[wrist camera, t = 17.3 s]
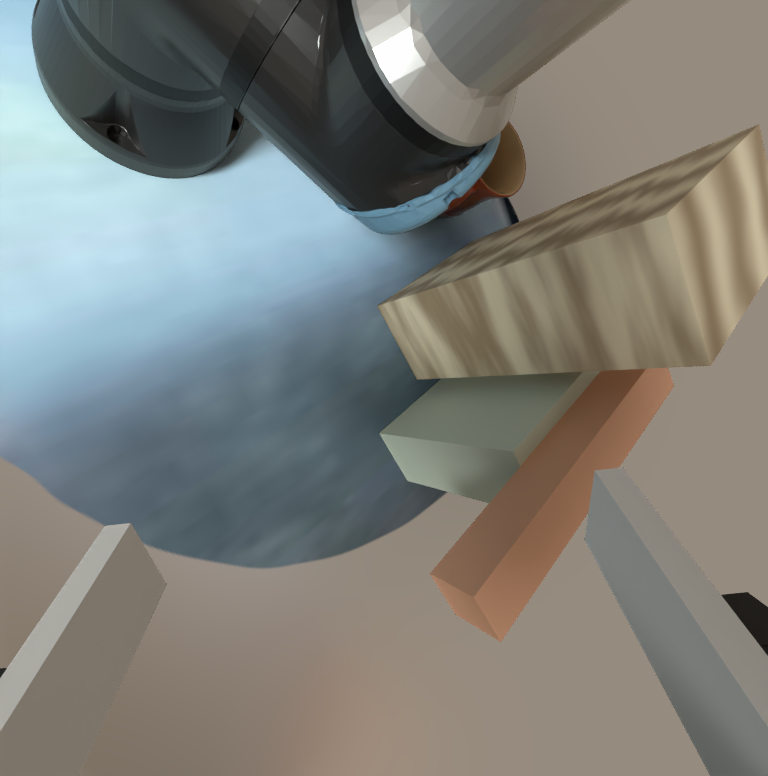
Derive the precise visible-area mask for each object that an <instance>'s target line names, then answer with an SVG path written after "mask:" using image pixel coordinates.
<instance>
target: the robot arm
mask: <svg viewBox="0 0 768 776" xmlns="http://www.w3.org/2000/svg"><path fill="white" fill-rule="evenodd" d="M629 1H631V0H37V2H36V5H35V8H34V13H33V18H32V43H33V49H34V55H35V60H36V65H37V70H38V73H39V77H40V79H41V82H42V85H43V87H44V89H45V91H46V93H47V95H48V97H49V99H50V101H51V102H52V104H53V106H54V107H55V109H56V110H57V111H58V113H59V114H60V116H61V117H62V118H63V119H64V121H65V122H66V123H67V124H68V125H69V126H70V127H71V129H72V130H73V131H74V132H75V133H76V134H77V135H78V136H80V137H81V138H82V139H83V140H84V141H85V142H86V143H88V144H89V145H90V146H91V147H93V148H94V149H95V150H97V151H98V152H100V153H101V154H103V155H104V156H106V157H107V158H109V159H111V160H113V161H114V162H116V163H118V164H120V165H122V166H125V167H127V168H129V169H132V170H135V171H137V172H141V173H144V174H148V175H152V176H158V177H166V178H183V177H190V176H195V175H198V174H201V173H204V172H206V171H208V170H210V169H212V168H213V167H215V166H216V165H218V164H219V163H220V162H221V161H222V160H223V159H224V158H225V157H226V156H227V155H228V153H229V152H230V151H231V149H232V147H233V145H234V143H235V142H236V140H237V138H238V136H239V134H240V131H241V129H242V125H243V121H244V117H245V118H246V119H247V120H248V121H249V122H250V123H251V124H252V125H253V126H255V127H256V128H257V129H258V130H259V131H260V132H261V133H262V134H263V135H264V136H265V137H266V138H267V139H268V140H269V141H271V142H272V143H273V144H274V145H275V146H276V147H277V148H278V149H279V150H280V151H281V152H282V153H283V154H284V155H285V156H287V157H288V158H289V159H290V160H291V161H292V162H293V163H294V164H295V165H296V166H297V167H298V168H299V169H300V170H301V171H303V172H304V173H305V174H306V175H307V176H308V177H309V178H310V179H311V180H312V181H313V182H314V183H315V184H316V185H317V186H318V187H320V188H321V189H322V190H323V191H324V192H325V193H326V194H327V195H328V196H329V197H330V198H331V199H332V200H333V201H334V202H335V203H336V205H337V206H338V207H339V208H340V209H342V210H343V211H345V212H347V213H349V214H351V215H353V216H354V217H356V218H357V219H358V220H359V221H360V222H362V223H363V224H364V225H365V226H367V227H368V228H369V229H371V230H373V231H375V232H377V233H381V234H399V233H403V232H407V231H410V230H413V229H415V228H418V227H420V226H422V225H424V224H426V223H427V222H429V221H431V220H433V219H434V218H436V217H437V216H439V215H440V214H441V213H443V212H444V211H445V210H447V209H448V207H449V204H450V202H451V201H452V200H453V199H455V198H457V197H462V196H463V195H464V194H465V193H466V192H467V191H468V190H469V189H470V188H471V187H472V186H473V185H474V184H475V183H476V182H477V181H478V179H479V178H480V177H481V176H482V174H483V173H484V172H485V170H486V169H487V167H488V166H489V164H490V163H491V161H492V159H493V157H494V155H495V153H496V151H497V148H498V145H499V142H500V135H501V131H502V130H503V129H504V127H505V126H506V124H507V122H508V121H509V119H510V116H511V113H512V111H513V107H514V103H515V99H516V93H517V87H518V85H519V84H520V83H521V82H523V81H524V80H525V79H527V78H528V77H529V76H531V75H532V74H533V73H535V72H536V71H537V70H539V69H540V68H541V67H543V66H544V65H545V64H547V63H548V62H549V61H551V60H552V59H553V58H555V57H556V56H557V55H559V54H560V53H561V52H563V51H564V50H565V49H567V48H568V47H569V46H571V45H572V44H573V43H575V42H576V41H577V40H579V39H580V38H581V37H583V36H584V35H585V34H587V33H588V32H589V31H591V30H592V29H593V28H595V27H596V26H597V25H599V24H600V23H601V22H603V21H604V20H605V19H607V18H608V17H609V16H611V15H612V14H613V13H614V12H616V11H617V10H619V9H620V8H621V7H622V6H624V5H625V4H627V3H628V2H629ZM584 540H585V542H586V544H587V545H588V547H589V549H590V551H591V553H592V555H593V556H594V559H595V560H596V562H597V564H598V566H599V568H600V570H601V572H602V573H603V575H604V577H605V579H606V581H607V583H608V585H609V587H610V588H611V590H612V592H613V594H614V596H615V598H616V600H617V602H618V603H619V605H620V607H621V609H622V611H623V613H624V615H625V617H626V619H627V621H628V622H629V624H630V626H631V628H632V630H633V632H634V634H635V635H636V637H637V639H638V641H639V643H640V645H641V647H642V649H643V651H644V652H645V654H646V656H647V658H648V660H649V662H650V664H651V666H652V668H653V669H654V671H655V673H656V675H657V677H658V679H659V681H660V683H661V684H662V686H663V688H664V690H665V692H666V694H667V696H668V697H669V699H670V701H671V703H672V705H673V707H674V709H675V710H676V712H677V714H678V716H679V718H680V720H681V722H682V724H683V726H684V728H685V729H686V731H687V733H688V735H689V737H690V739H691V741H692V743H693V744H694V746H695V748H696V750H697V752H698V754H699V756H700V757H701V759H702V761H703V763H704V765H705V767H706V769H707V771H708V773H709V775H710V776H768V607H767V606H765V605H764V604H763V603H761V602H760V601H759V600H757V599H756V598H755V597H753V596H752V595H750V594H749V593H748V592H745V593H735V594H726V595H721V594H720V593H719V592H718V590H717V589H716V588H715V586H714V585H713V584H712V583H711V581H710V580H709V579H708V577H707V576H706V575H705V573H704V572H703V571H702V570H701V568H700V567H699V566H698V564H697V563H696V562H695V560H694V559H693V558H692V557H691V555H690V554H689V553H688V551H687V550H686V549H685V547H684V546H683V545H682V544H681V542H680V541H679V540H678V538H677V537H676V536H675V535H674V533H673V532H672V531H671V529H670V528H669V527H668V525H667V524H666V523H665V521H664V520H663V519H662V517H661V516H660V515H659V514H658V512H657V511H656V510H655V508H654V507H653V506H652V504H651V503H650V502H649V500H648V499H647V498H646V497H645V496H644V494H643V493H642V491H641V490H640V489H639V487H638V486H637V485H636V484H635V482H634V481H633V480H632V478H631V477H630V476H629V474H628V473H627V472H626V470H625V469H624V468H623V467H621V468H612V469H603V470H595V471H594V478H593V485H592V492H591V498H590V505H589V512H588V519H587V526H586V532H585V539H584ZM166 585H167V584H166V582H165V581H164V579H163V577H162V575H161V574H160V572H159V570H158V569H157V567H156V565H155V564H154V562H153V560H152V558H151V557H150V555H149V553H148V552H147V550H146V548H145V546H144V545H143V543H142V541H141V540H140V538H139V536H138V535H137V533H136V531H135V529H134V528H133V526H132V524H131V523H127V524H118V525H109V526H105V527H104V528H103V530H102V531H101V533H100V534H99V535H98V537H97V538H96V540H95V541H94V543H93V544H92V545H91V547H90V549H89V550H88V551H87V553H86V554H85V556H84V557H83V559H82V560H81V562H80V563H79V564H78V566H77V568H76V569H75V570H74V572H73V573H72V575H71V576H70V578H69V579H68V580H67V582H66V584H65V585H64V586H63V588H62V589H61V591H60V592H59V593H58V595H57V596H56V598H55V600H54V601H53V602H52V604H51V605H50V607H49V608H48V610H47V611H46V612H45V614H44V615H43V617H42V618H41V620H40V621H39V623H38V624H37V625H36V627H35V629H34V630H33V631H32V633H31V634H30V636H29V637H28V639H27V640H26V642H25V643H24V644H23V646H22V647H21V649H20V650H19V652H18V653H17V655H16V656H15V657H14V659H13V661H12V662H11V663H10V665H9V666H8V668H2V669H0V776H79V775H80V772H81V770H82V768H83V766H84V764H85V761H86V759H87V757H88V755H89V753H90V751H91V748H92V746H93V744H94V742H95V739H96V737H97V735H98V733H99V731H100V729H101V726H102V724H103V722H104V720H105V718H106V716H107V713H108V711H109V709H110V707H111V705H112V702H113V700H114V698H115V696H116V694H117V692H118V690H119V687H120V685H121V683H122V681H123V678H124V676H125V674H126V672H127V670H128V668H129V665H130V663H131V661H132V659H133V657H134V655H135V652H136V650H137V648H138V646H139V644H140V641H141V639H142V637H143V635H144V633H145V630H146V628H147V626H148V624H149V622H150V620H151V618H152V615H153V613H154V611H155V609H156V607H157V605H158V602H159V600H160V598H161V596H162V593H163V591H164V589H165V587H166Z"/></svg>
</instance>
